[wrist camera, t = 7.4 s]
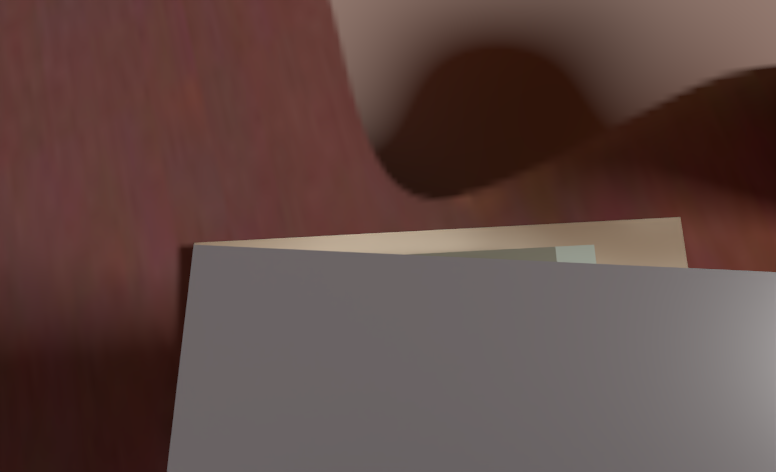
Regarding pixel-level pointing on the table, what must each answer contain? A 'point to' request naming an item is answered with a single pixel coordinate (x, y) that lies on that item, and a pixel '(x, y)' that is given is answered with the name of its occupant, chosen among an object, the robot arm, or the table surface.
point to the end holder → (515, 242)
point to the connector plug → (471, 365)
